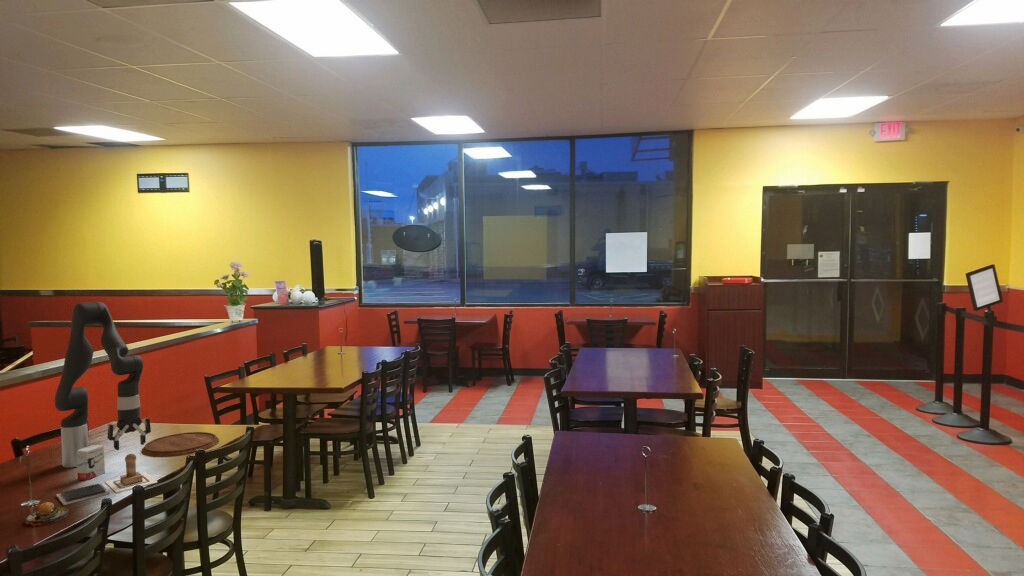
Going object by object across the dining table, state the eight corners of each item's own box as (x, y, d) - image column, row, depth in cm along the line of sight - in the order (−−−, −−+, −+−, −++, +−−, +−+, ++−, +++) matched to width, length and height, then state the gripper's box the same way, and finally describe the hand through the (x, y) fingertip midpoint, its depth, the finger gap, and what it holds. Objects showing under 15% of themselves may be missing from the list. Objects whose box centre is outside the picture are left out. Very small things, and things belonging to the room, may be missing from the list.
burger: (77, 511, 209) (76, 490, 209) (53, 526, 197) (52, 504, 197) (42, 511, 208) (41, 491, 208) (15, 527, 197) (14, 505, 196)
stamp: (120, 481, 235) (119, 454, 234) (137, 477, 239) (136, 450, 239) (124, 485, 231) (123, 457, 230) (142, 481, 235) (141, 453, 234)
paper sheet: (105, 482, 235) (105, 481, 235) (145, 472, 245) (145, 471, 245) (116, 493, 224) (116, 491, 224) (157, 482, 235) (157, 481, 235)
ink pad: (56, 496, 221) (56, 492, 221) (101, 485, 232) (100, 482, 232) (63, 505, 213) (63, 501, 213) (109, 493, 224) (109, 490, 223)
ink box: (86, 480, 237) (85, 451, 237) (76, 479, 238) (75, 450, 238) (105, 472, 246) (104, 444, 245) (95, 472, 247) (94, 444, 246)
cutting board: (165, 462, 259) (165, 456, 259) (128, 450, 276) (127, 444, 276) (233, 442, 287) (233, 437, 286) (195, 432, 303) (195, 427, 303)
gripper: (146, 401, 241) (147, 440, 242) (104, 408, 231) (106, 449, 232) (152, 405, 236) (153, 445, 237) (110, 411, 226) (111, 453, 226)
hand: (129, 447), depth 234 cm, fingers open, 8 cm apart
